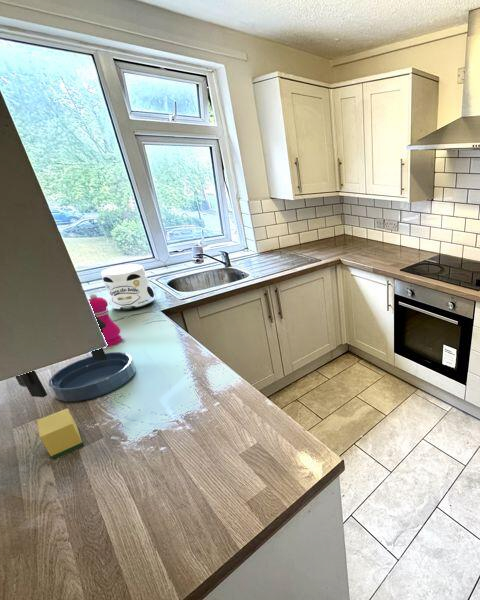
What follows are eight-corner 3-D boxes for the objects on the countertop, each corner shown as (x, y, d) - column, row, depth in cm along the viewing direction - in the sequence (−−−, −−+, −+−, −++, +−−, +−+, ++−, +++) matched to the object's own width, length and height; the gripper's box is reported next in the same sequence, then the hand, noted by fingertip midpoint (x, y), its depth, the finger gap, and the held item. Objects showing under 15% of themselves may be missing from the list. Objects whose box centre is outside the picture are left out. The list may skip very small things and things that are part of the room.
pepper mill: (104, 339, 127) (84, 291, 119) (126, 336, 129) (108, 289, 121) (96, 349, 121) (74, 299, 113) (119, 345, 123) (100, 296, 115)
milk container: (121, 316, 145) (107, 278, 138) (105, 307, 154) (91, 271, 147) (163, 302, 159) (152, 267, 152) (146, 295, 167) (135, 261, 160)
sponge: (48, 441, 81) (36, 420, 79) (78, 429, 85) (67, 408, 82) (52, 459, 77) (39, 437, 74) (83, 445, 80) (72, 423, 78)
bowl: (36, 401, 95) (28, 387, 93) (98, 363, 112) (92, 350, 110) (98, 405, 93) (92, 391, 91) (150, 365, 111) (146, 353, 109)
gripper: (-34, 317, 54) (24, 416, 62) (105, 269, 77) (133, 347, 85) (-74, 315, 54) (-11, 414, 63) (75, 268, 77) (107, 345, 86)
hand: (72, 375), depth 74 cm, fingers open, 13 cm apart
